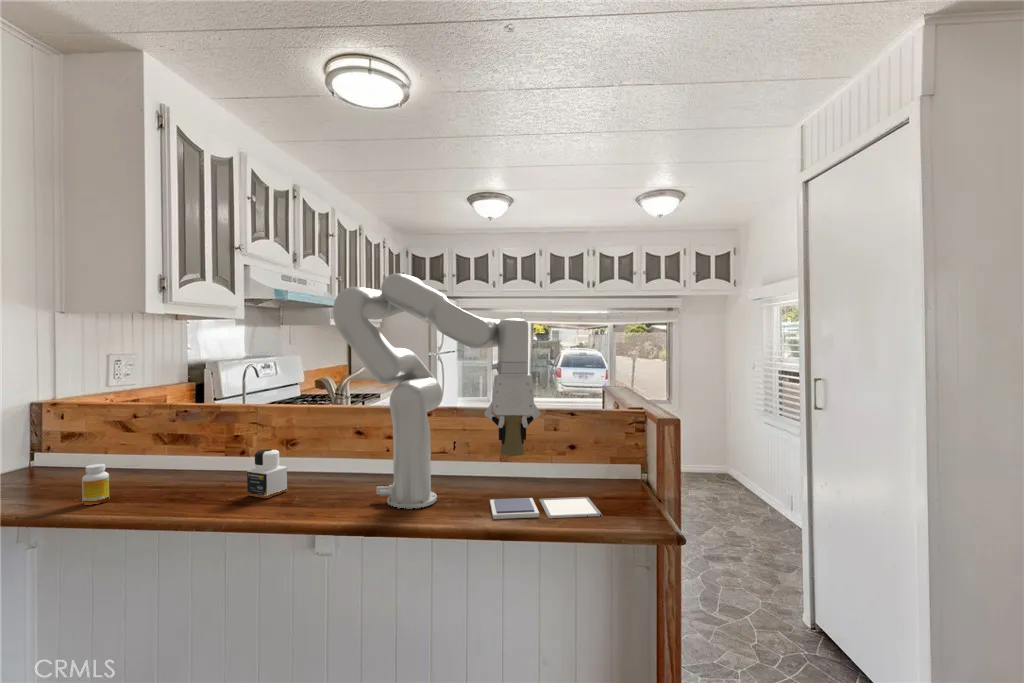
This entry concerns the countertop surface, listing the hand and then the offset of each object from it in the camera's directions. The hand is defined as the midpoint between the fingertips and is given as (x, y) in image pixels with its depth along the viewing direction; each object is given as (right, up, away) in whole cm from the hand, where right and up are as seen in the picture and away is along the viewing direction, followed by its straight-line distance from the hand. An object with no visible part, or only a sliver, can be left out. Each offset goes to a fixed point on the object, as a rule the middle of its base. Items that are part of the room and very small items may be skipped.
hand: (512, 442), depth 125 cm
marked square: (+14, -17, +2) cm, 22 cm away
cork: (0, -3, 0) cm, 3 cm away
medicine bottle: (-67, -17, +13) cm, 70 cm away
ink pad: (0, -17, 0) cm, 17 cm away
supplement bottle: (-109, -17, +7) cm, 110 cm away
